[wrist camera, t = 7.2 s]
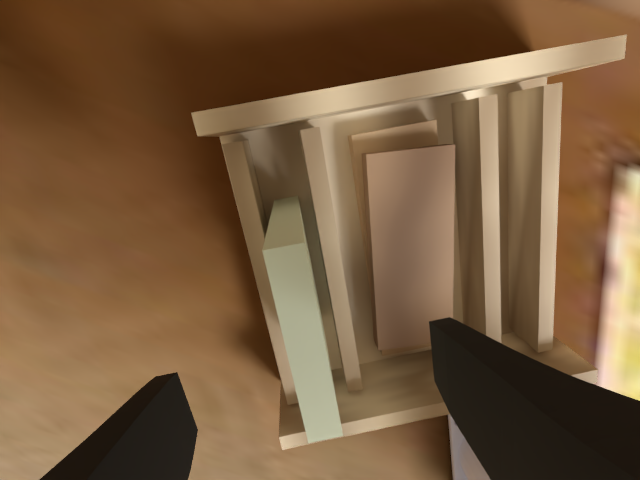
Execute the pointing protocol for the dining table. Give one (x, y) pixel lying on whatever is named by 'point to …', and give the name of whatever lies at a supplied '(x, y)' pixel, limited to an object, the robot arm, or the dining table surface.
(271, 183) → the rack
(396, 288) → the offcut upper
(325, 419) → the panel
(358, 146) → the offcut lower
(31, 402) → the dining table surface
